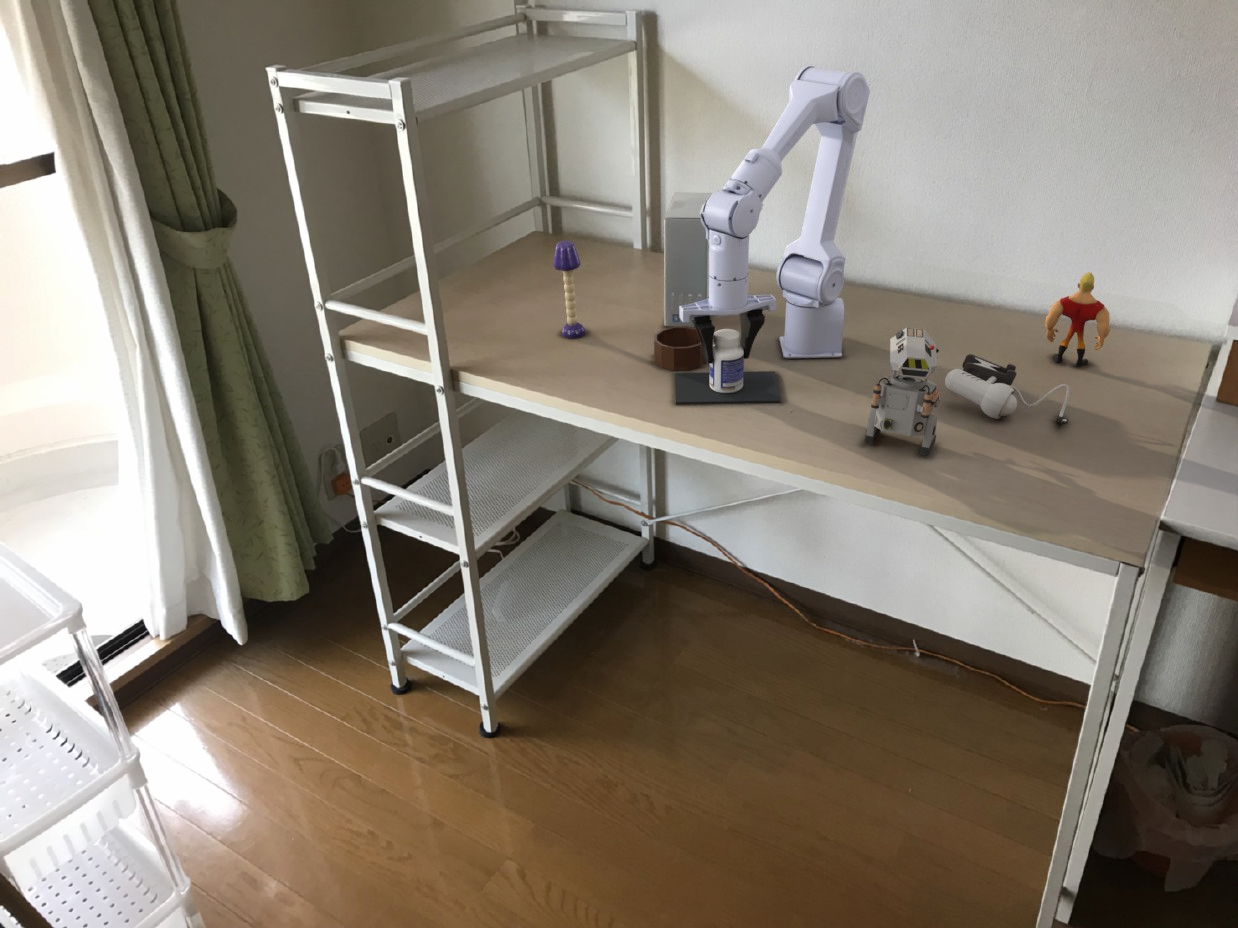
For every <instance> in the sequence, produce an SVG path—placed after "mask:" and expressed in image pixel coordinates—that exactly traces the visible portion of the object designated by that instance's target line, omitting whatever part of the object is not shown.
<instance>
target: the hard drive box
mask: <svg viewBox="0 0 1238 928" xmlns="http://www.w3.org/2000/svg"><path fill="white" fill-rule="evenodd" d="M712 193H713V192H683V191H682V192H674V193H673V195H672V198H671V200H670V203H669V205H668V208H667V210H666V213H665V215H664V226H663V227H664V230H663V231H664V233H663V235H664V244H663V245H664V247H663V248H664V249H663V251H664V252H663V253H664V255H663V256H664V257H663V258H664V262H663V266H664V269H663V270H664V273H663V275H664V276H663V281H664V282H663V285H664V286H663V289H664V290H663V291H664V292H663V323H664V324H663V325H664V326H665V327H680V326H687V327H692V328H695V326H694V324H693V322H692V320H690V321H689V322H685V323H683V322H682V321H681V319H680V317H679V306H683V305H688V304H692V303H695V302H699V301H702V300H705V299H709V242H708V241H707V239H706V230H705V228H704V226H703V225H702V222H701V218H700V213H702V211H703V206H704V203H705V201H706V199H707V198H708V197H709V196H710V195H711V194H712Z"/></svg>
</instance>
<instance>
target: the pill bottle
mask: <svg viewBox="0 0 1238 928" xmlns="http://www.w3.org/2000/svg"><path fill="white" fill-rule="evenodd" d="M740 340H741V332H739V331H738V330H736V329H732V328H723V329H719V330H716V331H714V337H713V363H711V364H708V365H709V372H708V373H709V383H710V387H711V389H713V390H714V391H716V392H720V393H733V392H737V391H739V390H740V389H741V388H742V387H743V372H745V371H744V368H745V366H744V363H745V359H744V350H743V347H742V346H741V345H740Z"/></svg>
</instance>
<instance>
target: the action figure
mask: <svg viewBox="0 0 1238 928" xmlns="http://www.w3.org/2000/svg"><path fill="white" fill-rule="evenodd" d="M1077 288H1078V291H1077V292H1075V293H1073V294H1071V295H1068V296H1065V297H1061V298H1060V299H1059V300H1056V302H1054V303H1053V304H1052V305H1051V308H1050V310H1049V312H1048V314H1047V316H1046V317H1045V320H1044V325H1045V328H1046V330H1047V331H1046V334H1045V335H1046V339H1047V340H1048V342H1050V343H1054V341H1055V338H1056V336H1057V335H1056V333H1059V330H1058V329H1057V328H1055V326H1056V325H1057V323H1058V322H1059V319H1060V318H1061V316H1064V317H1067V318H1069V319H1070V320H1071V323H1070V326H1069V328H1068V332H1067V335H1066V337H1065V338H1064V339H1063V340H1062V341H1061V342H1060V344H1059V346H1058V353H1054V354H1053V356H1052V359H1053V360H1054V362H1055V363H1057V364H1062V363H1063V356H1064V354H1065V352H1066V351H1067V349H1068V348H1069V345H1070V341H1071V340H1072V338H1073V336H1074V335H1075V333H1076V337H1077V346H1076V355H1077V360H1076V363H1075V366H1076V367H1078V368H1080V367H1083V366H1086V365H1088V364H1089V360H1088V359H1087V358H1084V356H1085V353H1086V344H1085V342H1084V336H1085V335H1084V334H1085V333H1084V332H1085V325H1086V323H1087V322H1088V321H1096V330H1097V335H1096V336H1094V339H1096V340H1097V341H1095V345H1094V348H1093V350H1094V351H1097V350H1100V349H1102V348H1103V346H1104V344H1105V339H1106V338H1108V336H1109V334H1110V332H1111V325H1110V321H1111V318H1110V312H1109V310H1108V309H1107V307H1106V306H1105V304H1104V303H1102V301H1099V300H1097V299H1096V298H1095V297H1094V296H1093V294H1092V291H1093V290H1094V288H1095V277H1094V275H1093V273H1092V272H1086V273H1085V274H1083V275H1082V276H1081V278H1080V279H1079V283H1077ZM1055 332H1056V333H1055Z"/></svg>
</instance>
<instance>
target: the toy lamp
mask: <svg viewBox="0 0 1238 928" xmlns="http://www.w3.org/2000/svg"><path fill="white" fill-rule="evenodd" d="M580 266H581V260H580V257H579V254H578V252H577V248H576V246H575V243H574V242H573V241H571V240H562V241H559V242H557V243H556V245H555V250H554V255H553V262H552V267H553V268H554V270H556V271H560V272H562V274H563V278H562V279H563V283H564V285H563V289H564V291H565V292H564V298H565V308H566V315H567V317H566V322H567V323H565V324H564V325H563V327H562V329H561V336H562V337H564V338H566V339H578V338H581V337H583V336H585V335H586V329H585V327H584V326H583V324H581V323H580V322H578V317H577V311H578V310H577V308H576V307H577V302H576V292H575V283H574V281H575V277H574V275H573V274H574V270H577V269H578V268H580Z"/></svg>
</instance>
